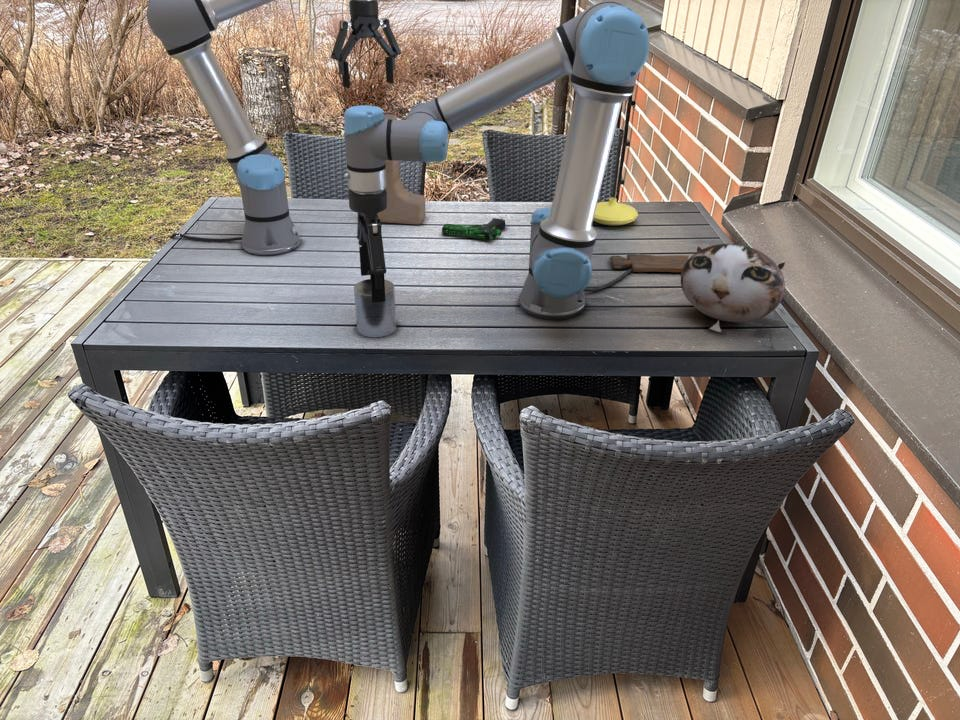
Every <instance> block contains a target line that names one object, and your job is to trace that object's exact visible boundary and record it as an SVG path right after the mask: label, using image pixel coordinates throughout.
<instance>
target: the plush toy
mask: <svg viewBox="0 0 960 720" xmlns="http://www.w3.org/2000/svg"><path fill="white" fill-rule="evenodd" d="M785 265H786V262H780V263H778V264H777V263H776V262H775V261H774V260H773V259H772V258H771V257H770V256H768V255H767V254H765V253H764V252H762V251H761V250H759V249H756V248H754V247H750V246H749V245H748V246H747V245H744V244H738V243H719V244H718V243H717V244H713V245H710V246H707V247H704V248H701V247H700V246H697V248H696V252H695V253H693V255H691V256H689V257H688V261H687V262H686V263H685V265H684V267H683V269H682V273H681V272H680V286H681V290H682V293H683V294H684V296H685V298H686V300H687V301H688V302H689V303H690V304H691V306H693V307H694V308H695V309H696V310H697V311H699V312H701V313H702V314H704V315H706V316H708V317H709V318H712V319H715V320H717V322H716V323H715V324H714V325H713V326H710V327H709V328H708V329H709V330H711V331H713V332H718V333H722V332H723V330H722V329H721V327H720V321H721V322H728V323H747V322H752V321H757V320H759V319H762V318H764V317H766V316H768V315H769V314H771V313H773V311H775V310H776V309H777V308H778V307H779V305H780V304H781V302H782V301H783V298H784V297H785V293H786V280H785V277H784V274H783V272H782V269H783V268H784V266H785Z"/></svg>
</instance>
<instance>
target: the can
mask: <svg viewBox="0 0 960 720" xmlns="http://www.w3.org/2000/svg"><path fill="white" fill-rule="evenodd" d="M384 280H385V301H382V302H373V303H372V298H371V280H370V278H368V279H364V280H361V281H359V282H357V283H356V284H354V286H353V295H354V306H355V307H354V308H355V318H356V319H355V320H356V330H357V332H358V334H360V335H361V336H364V337H368V338H383V337H387V336H390V335H392V334H393V333H394V332H396V329H397V311H396V293H395V291H396V289H395V285H394V283H393V282H392V281H390V280H387V279H384Z"/></svg>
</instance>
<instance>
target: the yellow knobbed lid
mask: <svg viewBox="0 0 960 720" xmlns="http://www.w3.org/2000/svg"><path fill="white" fill-rule="evenodd" d="M638 217H639V213H638V211H637V210H636V208H635V207H634V206H632V205H629V204H626V203H623V202H617V198H616V197H609V198H608V201H599V202H597V206H596V210H595V214H594V218H593V222H595V223H597V224H600V225H603V226H610V227H611V226H612V227H615V226H624V225H627V224H631V223H633V222H634V221H636V220H637V218H638Z"/></svg>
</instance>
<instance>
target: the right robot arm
mask: <svg viewBox="0 0 960 720" xmlns="http://www.w3.org/2000/svg"><path fill="white" fill-rule="evenodd" d="M644 21H645V20H643V18H642V17H641V16H640V15H639V14H638V12H637V11H635V10H633V9H632V8H630V7H627V6H626V5H623V4H621V3H619V2H616V1H609V0H606V1H601V2H598V3H595V4H593V5H591V6H589V7H588V8H586V9H585V10H583V11H582V12H580V13H579V14H577V15H575V16H574V17H573V18H571V19H570V20H568V21H566V22H564V23H563V24H561V25H559V26H557V27H555V28H554V29H553V32H552V34H551V36H550V37H548V38H546V39H545V40H543V41H541V42H539V43H537V44H535V45H533V46H531V47H529V48H527V49H525V50H524V51H522V52H519V53H518V54H516V55H514V56H512V57H510V58H508V59H506V60H504V61H502V62H501V63H498V64H497V65H495V66H493V67H491V68H489V69H487V70H485V71H483V72H481V73H480V74H478V75H476V76H474V77H472V78H470V79H469V80H466V81H465V82H464V81H463V82H462V83H460V84H459V85H456V86H454V87H452V88H451V89H449V90H447V91H445V92H443V93H441V94H440V95H437V96H436V97H434V98H432V99H430V100H428V101H427V102H419V103H418V104H416V105H414V106H412V107H411V108H410V110H409V111H408V112H407V115H406V118H405V119H397V120H391V119H385V116H384V114H385V113H384V109H383V108H381V107H380V106H374V105H368V104H367V105H364V104H363V105H362V104H361V105H354V106H350V107H348V108H347V109H346V110H345V111H344V113H343V125H344V126H343V130H344V131H343V136H344V146H345V148H344V149H345V159H346V160H345V161H346V171H347V172H346V173H344V174H343V176H344V179H347V185H348V186H347V188H348V189H349V190H348V206H349V207H348V208H349V209H350V210H351V211H352V212H354V213H357V223H356V224H357V228H356V239H357V241H358V242H357V243H358V249H359V251H358V252H359V265H360V266H359V267H360V276H361V277H365V276H370V277H369V279H370V280H371V298H372V303H373V302H382V301H385V280H386V279H385V274H387V267H386V259H385V251H384V242H383V234H382V222H380V219H378V215H377V213H379V212H382V211H384V210H385V209H386V208H387V191H386V190H385V188H386V187H387V180H386V163H385V161H386V160H392V161H393V160H394V161H399V162H418V163H426V164H430V163H441V162H442V163H443V162H444V161H446V160H447V157H448V147H449V146H448V145H449V135H451V134H452V133H454V132H456V131H458V130H460V129H462V128H463V127H465V126H468V125H469V124H472V123H473V122H477V120H479V119H481V118H483V117H485V116H488V115H490V114H491V113H494V112H496V111H497V110H499V109H501V108H503V107H505V106H507V105H510V104H511V103H513V102H515V101H517V100H519V99H521V98H523V97H526V96H527V95H529V94H532V93H533V92H535V91H537V90H539V89H541V88H543V87H545V86H547V85H549V84H551V83H553V82H555V81H557V80H559V79H561V78H563V77H565V76H569V77H570V79H569V83H570V86H571V87H572V88H573V90H574V92H575V96H574V100H573V105H572V109H571V114H570V120H569V124H568V128H567V134H566V138H565V142H564V148H563V152H562V156H561V161H560V165H559V171H558V176H557V180H556V185H555V188H554V189H555V190H554V194H553V199H552V204H551V207H542V208H537V209H536V210H534V211H533V212H532V214H531V220H530V222H529V224H530V238H529V240H530V241H529V257H528V273H527V275H526V278H525V281H524V283H523V286H522V288H521V291H520V293H519V295H518V296H519V297H518V298H519V299H518V306H519V307H520V309H521V310H522V311H523V312H524V313H526V314H528V315H529V316H532V317H535V318H538V319H543V320H557V321H558V320H559V321H560V320H566V319H567V320H568V319H572V318H574V317H576V316H579V315H581V314H582V313H583V312H584V310H585V305H586V298H585V293H586V292H589V293H590V292H591V293H592V292H598V291H602V290H604V289H606V288H608V287H610V286H612V285H614V284H615V283H618V282H620V281H621V280H622V279H624V278H625V277H626V276H627V275H628V274H630V273H632V272H633V268H632V267H631V268H628V269H627V270H626V271H625V272H623V273H622V274H620V276H618V277H616V278H614V279H613V280H611V281H610V282H608V283H605V284H603V285H601V286H597V287H588V286H589V284H590V282H591V280H592V275H593V264H592V257H593V254H594V249H595V246H596V242H597V237H598V232H597V231H596V229H595V228H594V226H593V222H594V221H593V218H594V214H595V210H596V206H597V203H598V201H599V197H600V195H601V194H600V193H601V189H602V186H603V181H604V177H605V174H606V169H607V165H608V162H609V157H610V153H611V150H612V145H613V141H614V136H615V131H616V128H617V125H618V120H619V115H620V113H621V112H620V111H621V108H622V104H623V102H624V101H626V100H627V99H628V98H630V97H631V96H633V94H634V91H635V87H636V82H637V80H638V75H639V73H640V72H641V71H642V70H643V67H644V66H645V64H646V62H647V59H648V57H649V53H650V45H651V44H650V42H651V41H650V35H649V31H648V28H647V26H646V23H645V22H644ZM584 292H585V293H584Z"/></svg>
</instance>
